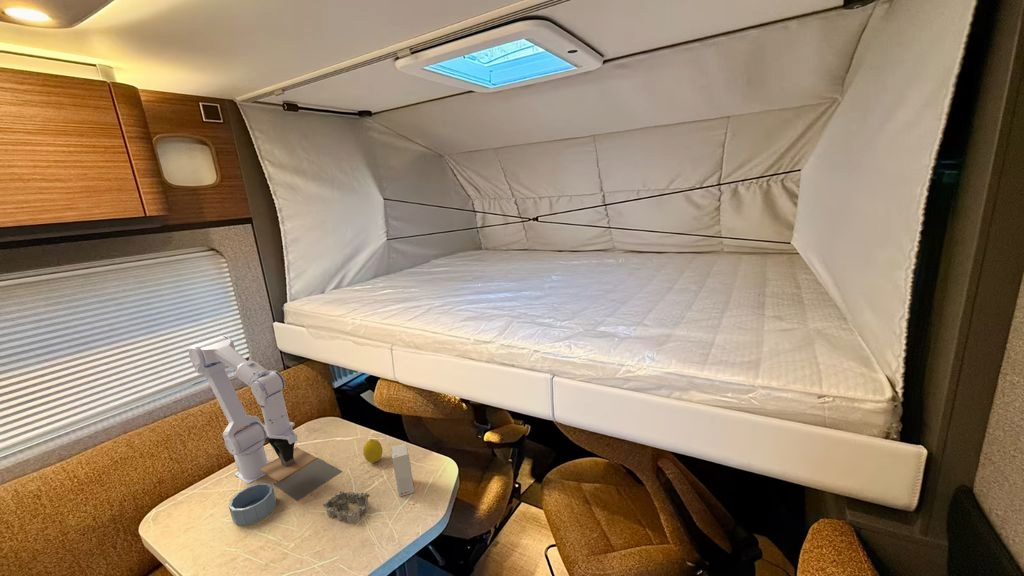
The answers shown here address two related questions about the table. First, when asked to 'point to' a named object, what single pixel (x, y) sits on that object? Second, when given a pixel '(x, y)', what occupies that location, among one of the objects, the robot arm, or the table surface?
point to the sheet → (289, 470)
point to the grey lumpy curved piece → (343, 505)
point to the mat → (308, 479)
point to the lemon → (372, 450)
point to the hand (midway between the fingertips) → (286, 458)
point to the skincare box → (402, 469)
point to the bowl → (252, 504)
